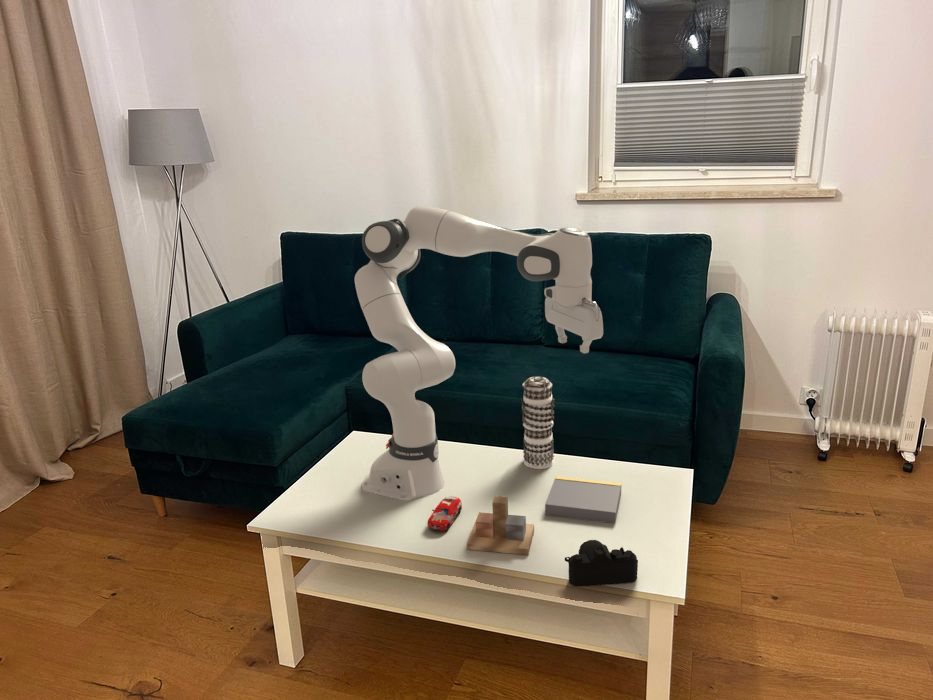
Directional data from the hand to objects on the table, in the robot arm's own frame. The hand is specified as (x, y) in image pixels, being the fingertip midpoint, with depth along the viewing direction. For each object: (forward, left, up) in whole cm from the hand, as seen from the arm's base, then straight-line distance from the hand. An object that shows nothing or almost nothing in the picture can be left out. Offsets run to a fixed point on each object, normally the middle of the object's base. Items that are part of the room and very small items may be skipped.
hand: (573, 347), depth 182 cm
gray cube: (-8, -33, -35) cm, 49 cm away
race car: (-26, -31, -39) cm, 56 cm away
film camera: (+12, -41, -37) cm, 57 cm away
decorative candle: (-11, +7, -37) cm, 39 cm away
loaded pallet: (-11, -34, -37) cm, 52 cm away
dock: (+5, -13, -37) cm, 40 cm away
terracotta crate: (-15, -34, -35) cm, 51 cm away
